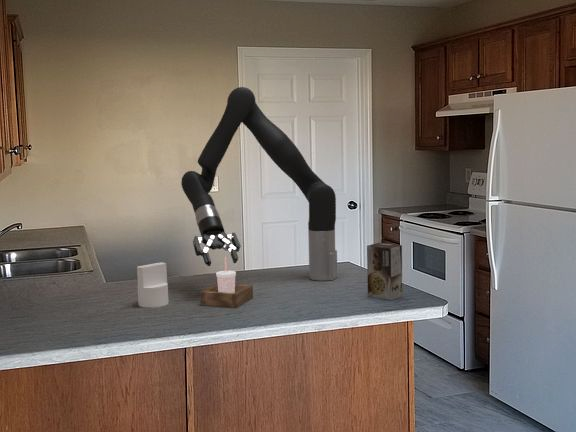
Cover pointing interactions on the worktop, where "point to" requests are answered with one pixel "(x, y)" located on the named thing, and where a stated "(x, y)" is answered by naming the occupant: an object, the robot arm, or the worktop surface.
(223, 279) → the beverage cup
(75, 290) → the worktop surface
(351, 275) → the worktop surface
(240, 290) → the walnut collar
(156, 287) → the cylinder with rectangular tab
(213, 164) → the robot arm
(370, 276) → the coffee box
